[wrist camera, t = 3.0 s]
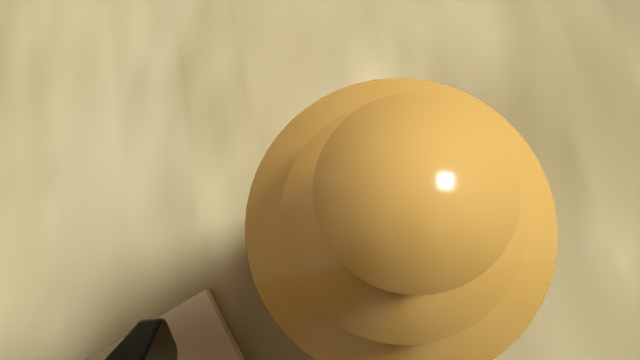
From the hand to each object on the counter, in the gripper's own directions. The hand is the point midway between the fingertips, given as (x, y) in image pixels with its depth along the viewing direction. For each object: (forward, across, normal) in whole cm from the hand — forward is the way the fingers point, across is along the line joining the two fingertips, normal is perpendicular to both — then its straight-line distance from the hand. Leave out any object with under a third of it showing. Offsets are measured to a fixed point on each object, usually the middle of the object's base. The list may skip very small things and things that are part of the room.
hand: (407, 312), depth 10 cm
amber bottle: (+8, 0, +5) cm, 9 cm away
